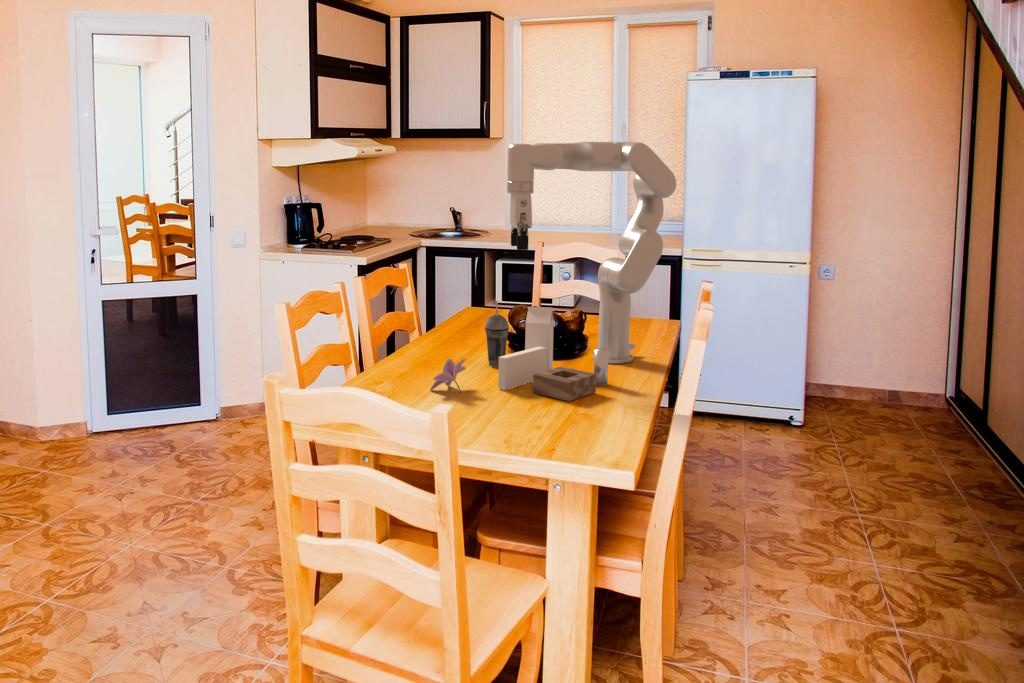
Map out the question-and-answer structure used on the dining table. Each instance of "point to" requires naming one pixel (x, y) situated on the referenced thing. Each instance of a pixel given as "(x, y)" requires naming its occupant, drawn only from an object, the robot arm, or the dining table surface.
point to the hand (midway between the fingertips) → (519, 247)
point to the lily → (449, 373)
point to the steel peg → (601, 366)
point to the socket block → (564, 383)
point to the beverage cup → (496, 337)
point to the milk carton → (540, 331)
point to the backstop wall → (521, 367)
